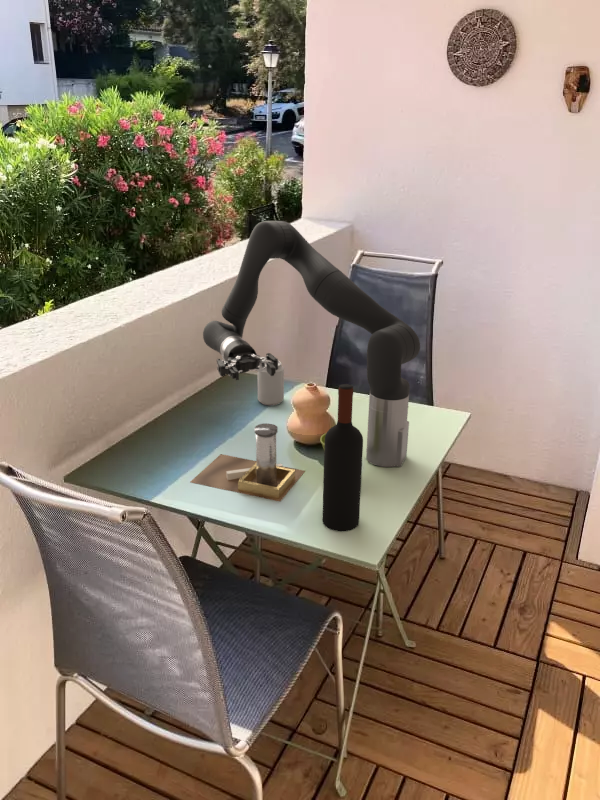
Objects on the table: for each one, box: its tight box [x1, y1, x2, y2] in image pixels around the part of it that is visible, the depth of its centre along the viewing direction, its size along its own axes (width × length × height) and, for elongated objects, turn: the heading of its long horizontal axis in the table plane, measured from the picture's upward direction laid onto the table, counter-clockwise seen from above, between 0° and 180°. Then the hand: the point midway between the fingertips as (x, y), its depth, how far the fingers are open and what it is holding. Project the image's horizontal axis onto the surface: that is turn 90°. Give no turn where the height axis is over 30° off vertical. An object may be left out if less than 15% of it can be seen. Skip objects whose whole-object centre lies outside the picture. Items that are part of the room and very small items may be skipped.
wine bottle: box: [321, 383, 364, 533], centre depth 144 cm, size 8×8×30 cm
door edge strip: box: [226, 463, 284, 480], centre depth 165 cm, size 1×13×2 cm, turn 108°
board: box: [189, 454, 306, 503], centre depth 165 cm, size 22×15×1 cm
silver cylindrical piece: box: [253, 422, 279, 487], centre depth 159 cm, size 5×5×14 cm
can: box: [256, 360, 285, 407], centre depth 206 cm, size 8×8×12 cm
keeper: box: [238, 462, 295, 499], centre depth 161 cm, size 10×10×2 cm
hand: (255, 374), depth 168 cm, fingers open, 8 cm apart
